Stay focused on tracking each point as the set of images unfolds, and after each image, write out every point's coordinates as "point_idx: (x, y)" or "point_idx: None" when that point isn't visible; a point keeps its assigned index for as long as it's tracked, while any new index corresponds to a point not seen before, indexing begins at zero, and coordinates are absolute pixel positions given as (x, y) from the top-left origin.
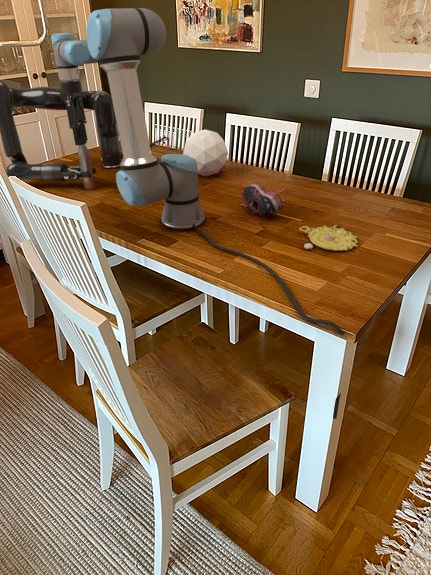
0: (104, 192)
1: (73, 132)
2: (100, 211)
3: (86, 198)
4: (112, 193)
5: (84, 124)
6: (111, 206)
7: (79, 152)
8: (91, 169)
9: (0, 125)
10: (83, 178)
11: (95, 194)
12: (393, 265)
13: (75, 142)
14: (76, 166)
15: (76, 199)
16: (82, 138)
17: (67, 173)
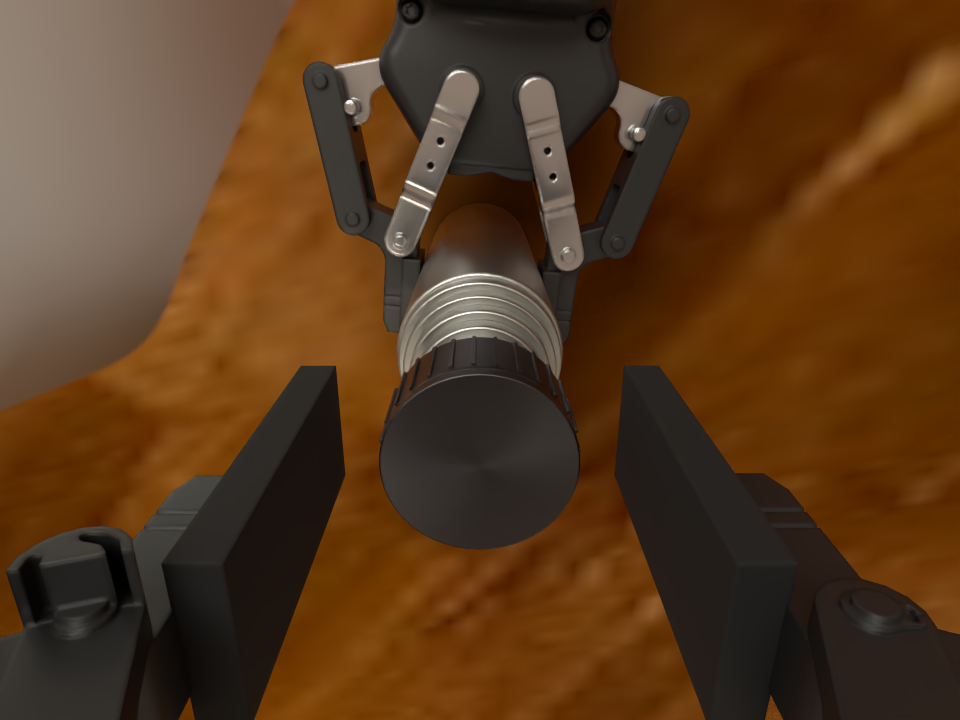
0: (371, 392)
1: (211, 505)
2: (15, 449)
3: (235, 289)
4: (352, 452)
5: (728, 716)
6: (112, 496)
7: (411, 330)
8: None
9: None
10: (433, 241)
11: (326, 336)
12: None
13: (288, 395)
14: (650, 118)
15: (205, 213)
16: (427, 511)
17: (388, 88)
